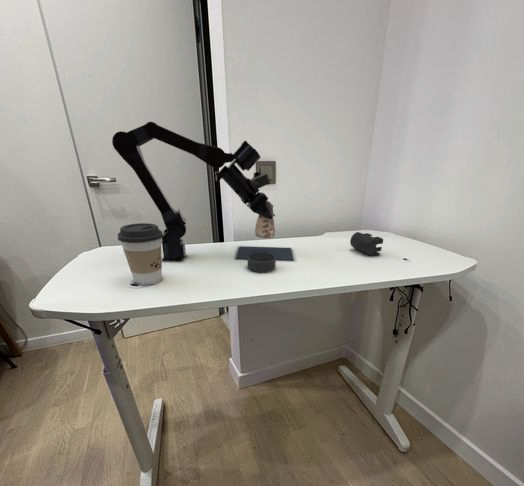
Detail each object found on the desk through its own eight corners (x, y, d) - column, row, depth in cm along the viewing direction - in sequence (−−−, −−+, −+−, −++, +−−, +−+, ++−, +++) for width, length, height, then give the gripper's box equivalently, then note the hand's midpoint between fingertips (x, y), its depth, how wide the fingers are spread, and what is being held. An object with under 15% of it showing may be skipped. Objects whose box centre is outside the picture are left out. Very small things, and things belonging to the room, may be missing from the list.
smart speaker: (279, 271, 91) (280, 259, 89) (252, 274, 88) (252, 262, 86) (269, 262, 98) (269, 251, 96) (244, 264, 96) (244, 253, 94)
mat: (235, 259, 100) (235, 258, 100) (239, 247, 113) (239, 246, 113) (293, 260, 100) (293, 259, 100) (290, 248, 113) (290, 247, 112)
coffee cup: (157, 290, 77) (148, 233, 70) (118, 286, 79) (105, 230, 72) (175, 274, 87) (169, 223, 80) (140, 271, 88) (131, 221, 82)
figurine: (279, 236, 103) (281, 201, 97) (262, 239, 99) (264, 202, 93) (267, 232, 108) (268, 198, 102) (251, 234, 104) (251, 199, 98)
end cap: (348, 249, 114) (351, 232, 110) (362, 247, 116) (365, 231, 113) (366, 257, 105) (369, 239, 102) (381, 255, 108) (385, 237, 105)
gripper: (262, 164, 84) (295, 204, 91) (250, 161, 100) (278, 195, 107) (235, 193, 86) (270, 229, 93) (227, 186, 102) (257, 217, 109)
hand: (269, 216), depth 101 cm, fingers closed on figurine, 6 cm apart
